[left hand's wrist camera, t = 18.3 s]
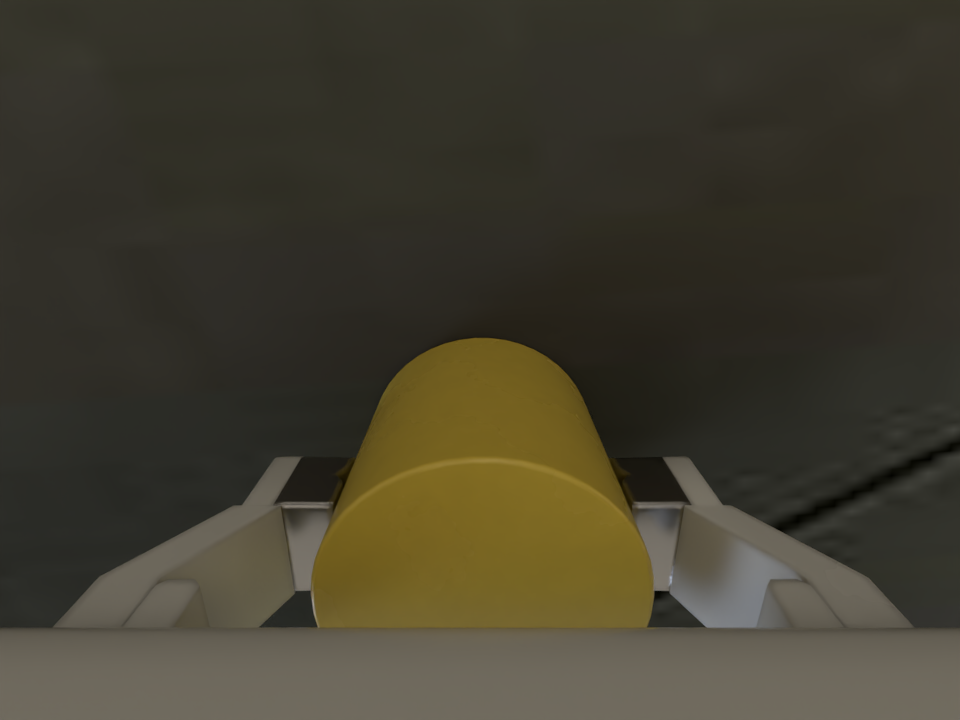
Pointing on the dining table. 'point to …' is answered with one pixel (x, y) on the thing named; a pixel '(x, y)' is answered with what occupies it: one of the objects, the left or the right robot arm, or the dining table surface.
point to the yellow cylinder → (482, 505)
